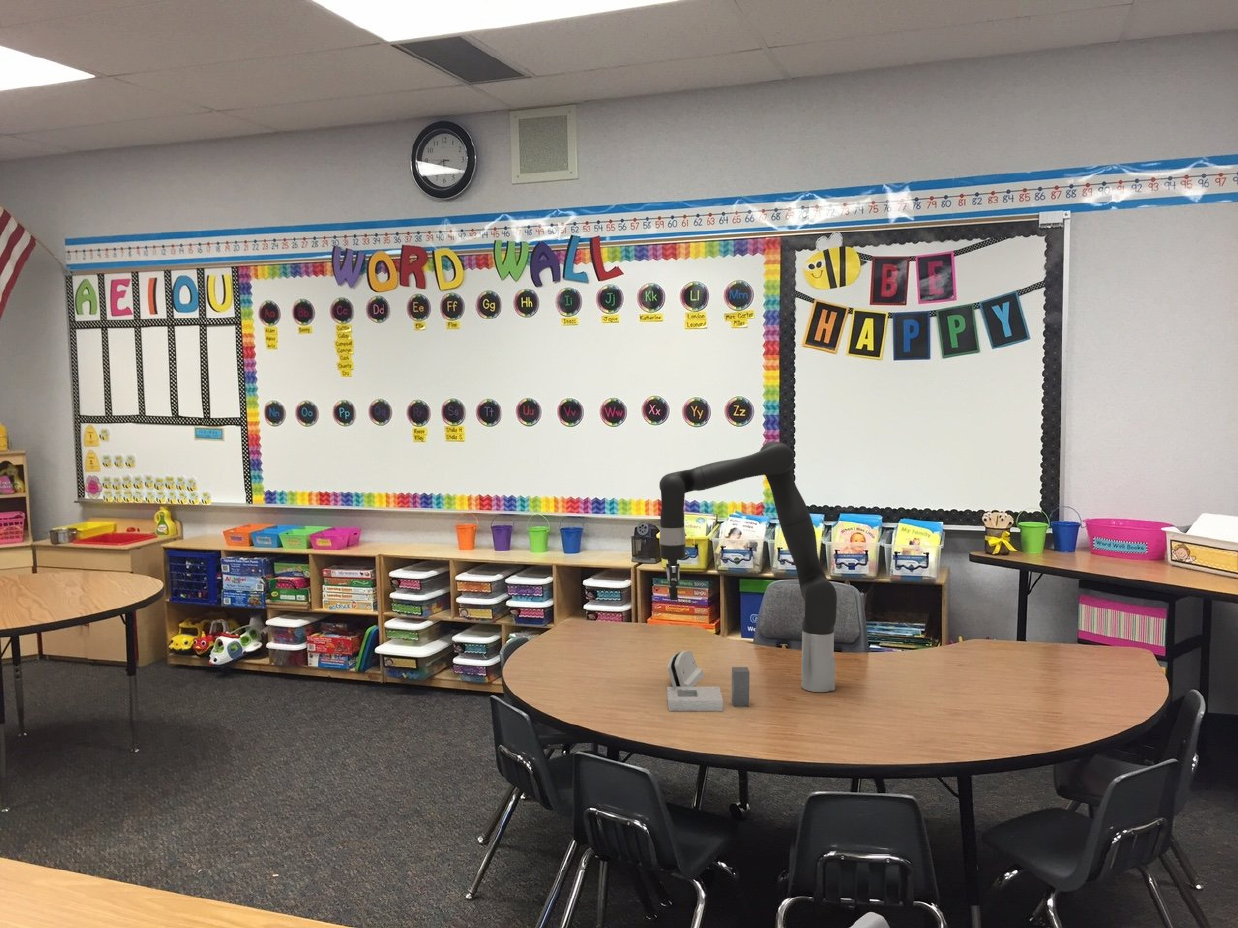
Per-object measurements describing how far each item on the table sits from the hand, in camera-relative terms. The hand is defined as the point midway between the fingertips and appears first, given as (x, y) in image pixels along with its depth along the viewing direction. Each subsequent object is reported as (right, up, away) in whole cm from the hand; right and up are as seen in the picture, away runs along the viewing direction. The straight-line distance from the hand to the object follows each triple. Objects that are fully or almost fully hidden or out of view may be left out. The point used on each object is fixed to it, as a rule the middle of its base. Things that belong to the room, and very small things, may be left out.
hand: (673, 596), depth 277 cm
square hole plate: (+5, -29, -10) cm, 31 cm away
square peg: (+18, -29, -11) cm, 36 cm away
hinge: (+4, -28, +10) cm, 29 cm away
